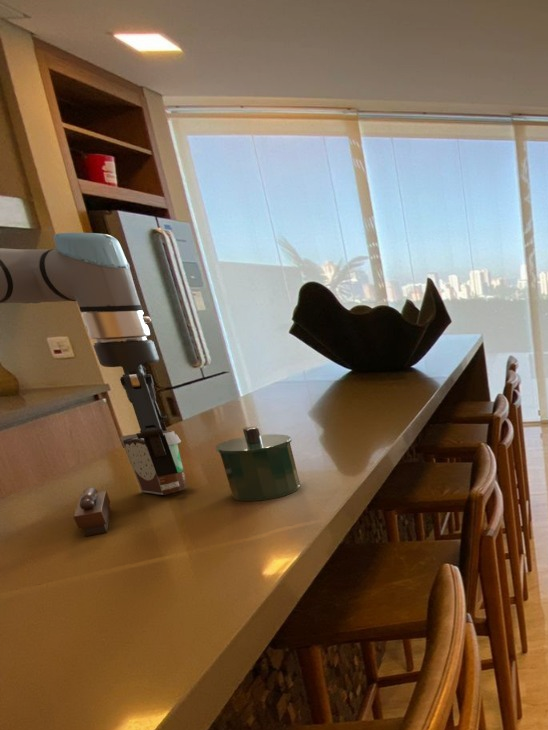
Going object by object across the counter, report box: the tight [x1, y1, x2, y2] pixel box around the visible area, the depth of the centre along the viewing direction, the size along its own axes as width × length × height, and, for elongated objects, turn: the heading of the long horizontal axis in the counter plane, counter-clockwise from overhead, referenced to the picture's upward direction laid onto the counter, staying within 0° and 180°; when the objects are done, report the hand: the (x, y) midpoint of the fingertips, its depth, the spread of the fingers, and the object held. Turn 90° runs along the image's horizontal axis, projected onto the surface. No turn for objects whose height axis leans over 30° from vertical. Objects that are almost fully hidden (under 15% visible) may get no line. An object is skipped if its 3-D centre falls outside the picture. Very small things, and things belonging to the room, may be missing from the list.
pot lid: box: [215, 426, 292, 454], centre depth 97 cm, size 11×11×4 cm
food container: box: [119, 430, 188, 496], centre depth 99 cm, size 12×6×10 cm, turn 59°
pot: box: [219, 442, 301, 502], centre depth 99 cm, size 10×10×8 cm
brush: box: [73, 486, 112, 537], centre depth 86 cm, size 12×3×5 cm, turn 39°
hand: (167, 465), depth 99 cm, fingers open, 13 cm apart
